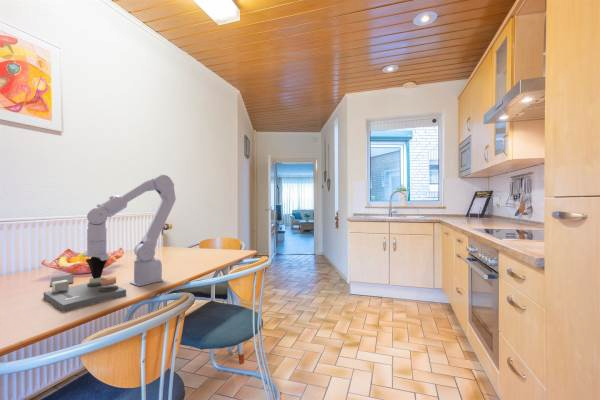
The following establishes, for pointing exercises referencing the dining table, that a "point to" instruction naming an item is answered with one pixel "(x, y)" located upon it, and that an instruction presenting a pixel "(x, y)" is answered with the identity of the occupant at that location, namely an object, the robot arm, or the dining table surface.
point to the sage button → (95, 280)
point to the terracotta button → (108, 281)
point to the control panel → (83, 295)
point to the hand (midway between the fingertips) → (96, 277)
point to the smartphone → (68, 278)
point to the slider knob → (60, 286)
